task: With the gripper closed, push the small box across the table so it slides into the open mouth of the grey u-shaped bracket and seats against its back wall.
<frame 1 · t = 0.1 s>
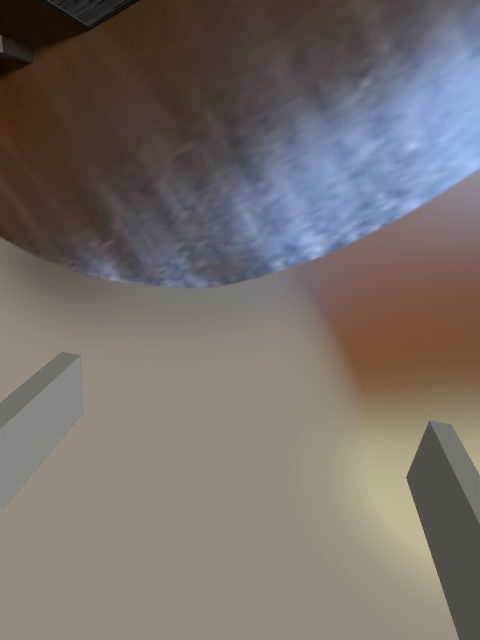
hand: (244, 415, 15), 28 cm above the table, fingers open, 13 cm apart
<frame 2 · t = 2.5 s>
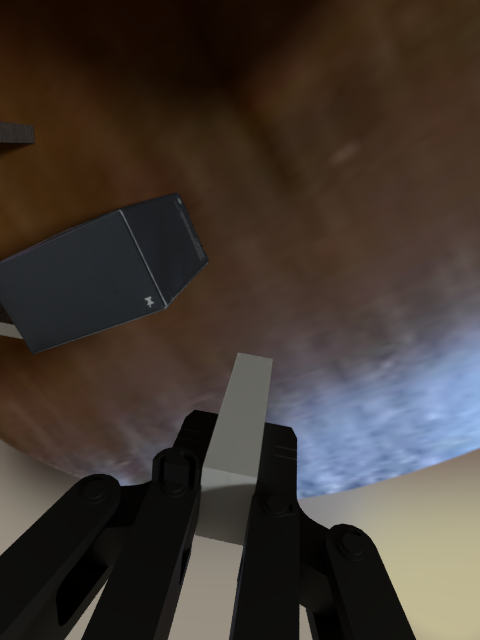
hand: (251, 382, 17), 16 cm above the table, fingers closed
small box: (140, 247, 32), on the table
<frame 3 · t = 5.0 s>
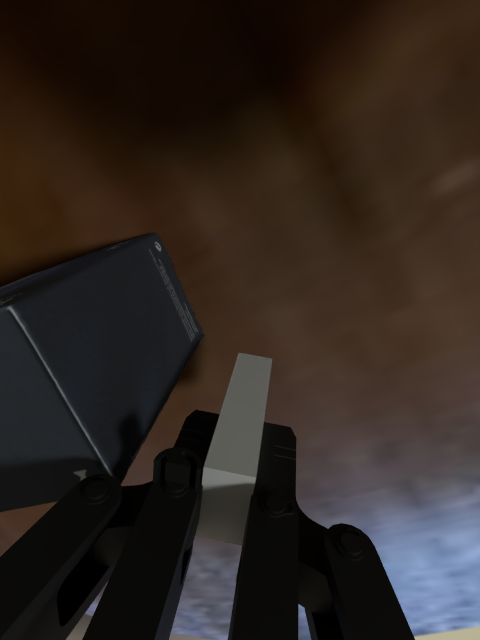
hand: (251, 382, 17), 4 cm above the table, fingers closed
small box: (99, 311, 21), on the table, touching gripper
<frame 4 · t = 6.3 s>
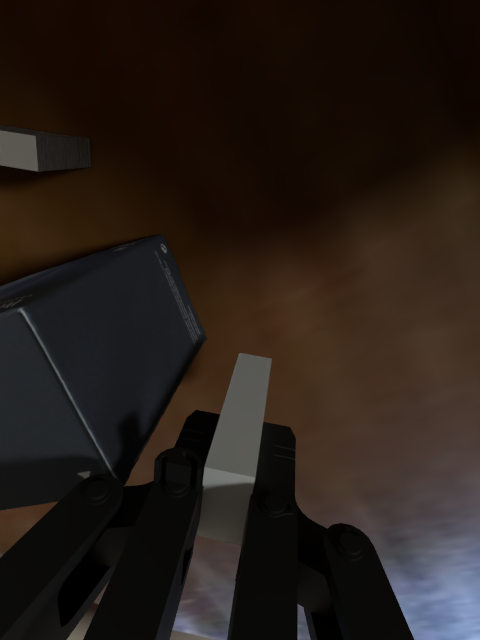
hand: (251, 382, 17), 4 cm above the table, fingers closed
small box: (102, 310, 21), on the table, touching gripper
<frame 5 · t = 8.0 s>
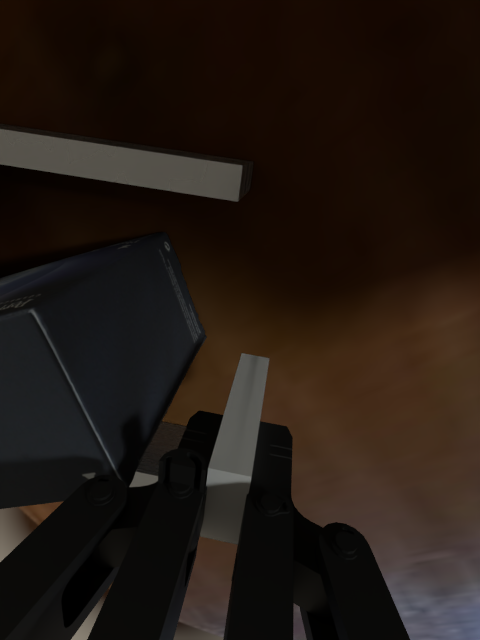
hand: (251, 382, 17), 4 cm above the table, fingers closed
small box: (101, 305, 21), on the table, touching grey u-shaped bracket, gripper
grey u-shaped bracket: (111, 307, 21), on the table
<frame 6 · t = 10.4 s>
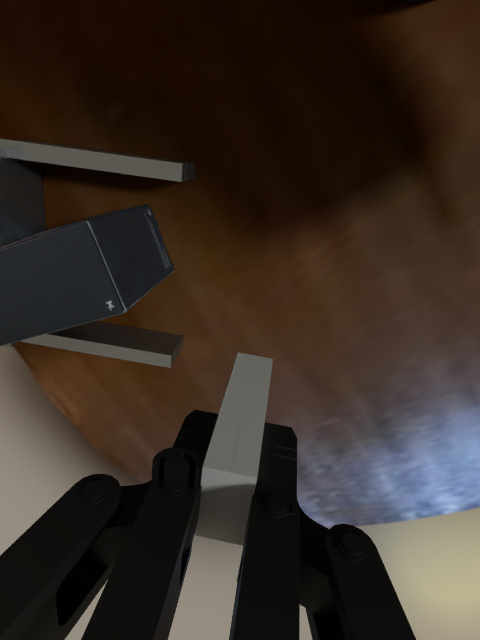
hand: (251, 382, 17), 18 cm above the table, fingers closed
small box: (111, 252, 34), on the table
grey u-shaped bracket: (116, 252, 34), on the table
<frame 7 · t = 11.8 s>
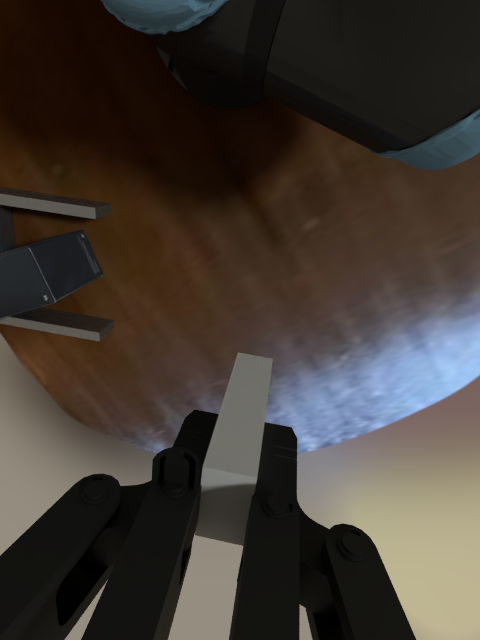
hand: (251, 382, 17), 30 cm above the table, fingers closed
small box: (60, 261, 50), on the table
grey u-shaped bracket: (64, 262, 49), on the table
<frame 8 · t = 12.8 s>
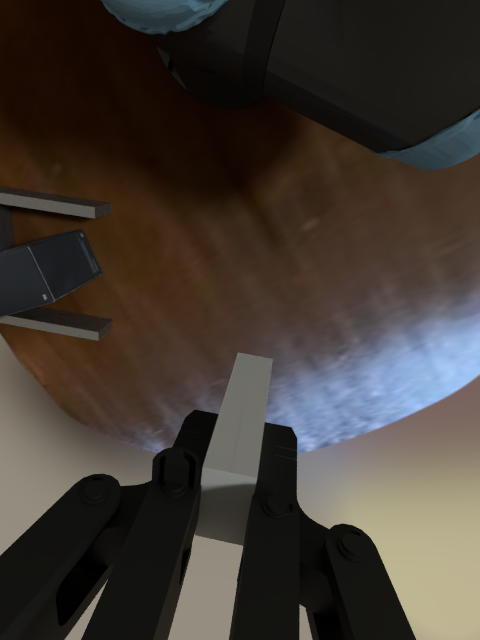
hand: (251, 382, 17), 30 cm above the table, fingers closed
small box: (59, 261, 50), on the table
grey u-shaped bracket: (63, 261, 49), on the table
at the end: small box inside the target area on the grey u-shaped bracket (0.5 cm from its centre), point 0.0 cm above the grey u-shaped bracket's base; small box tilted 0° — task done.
